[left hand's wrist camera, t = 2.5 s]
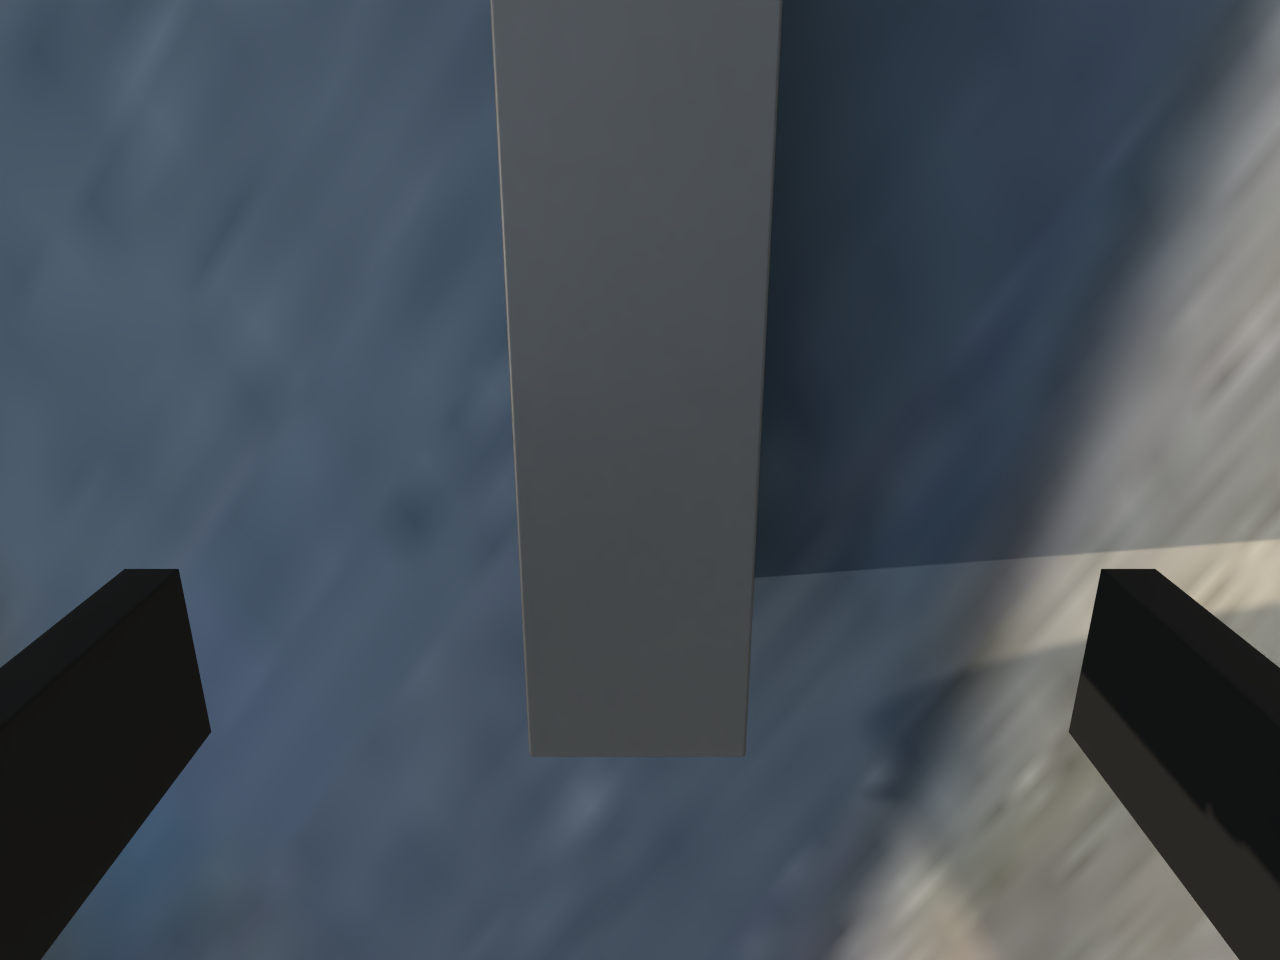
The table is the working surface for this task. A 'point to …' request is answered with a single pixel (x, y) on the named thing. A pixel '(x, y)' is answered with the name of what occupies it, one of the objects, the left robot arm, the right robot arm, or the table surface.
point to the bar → (636, 358)
